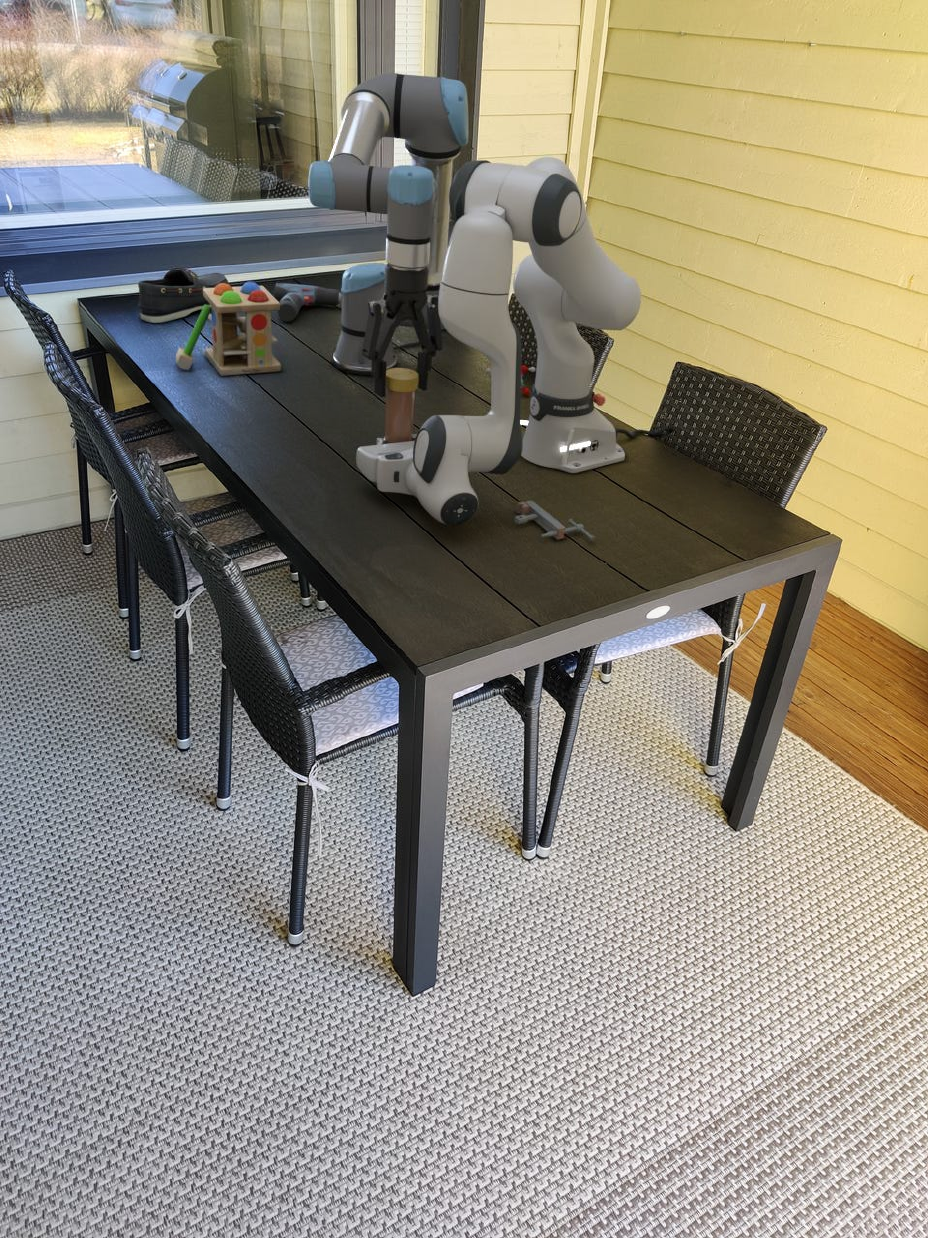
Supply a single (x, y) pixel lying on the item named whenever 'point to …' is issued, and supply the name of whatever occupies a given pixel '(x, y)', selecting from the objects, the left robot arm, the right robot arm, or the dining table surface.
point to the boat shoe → (175, 294)
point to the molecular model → (523, 369)
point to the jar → (399, 416)
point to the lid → (401, 379)
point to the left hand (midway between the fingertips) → (400, 391)
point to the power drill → (302, 298)
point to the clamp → (546, 521)
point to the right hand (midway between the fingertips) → (396, 439)
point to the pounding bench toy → (229, 347)
